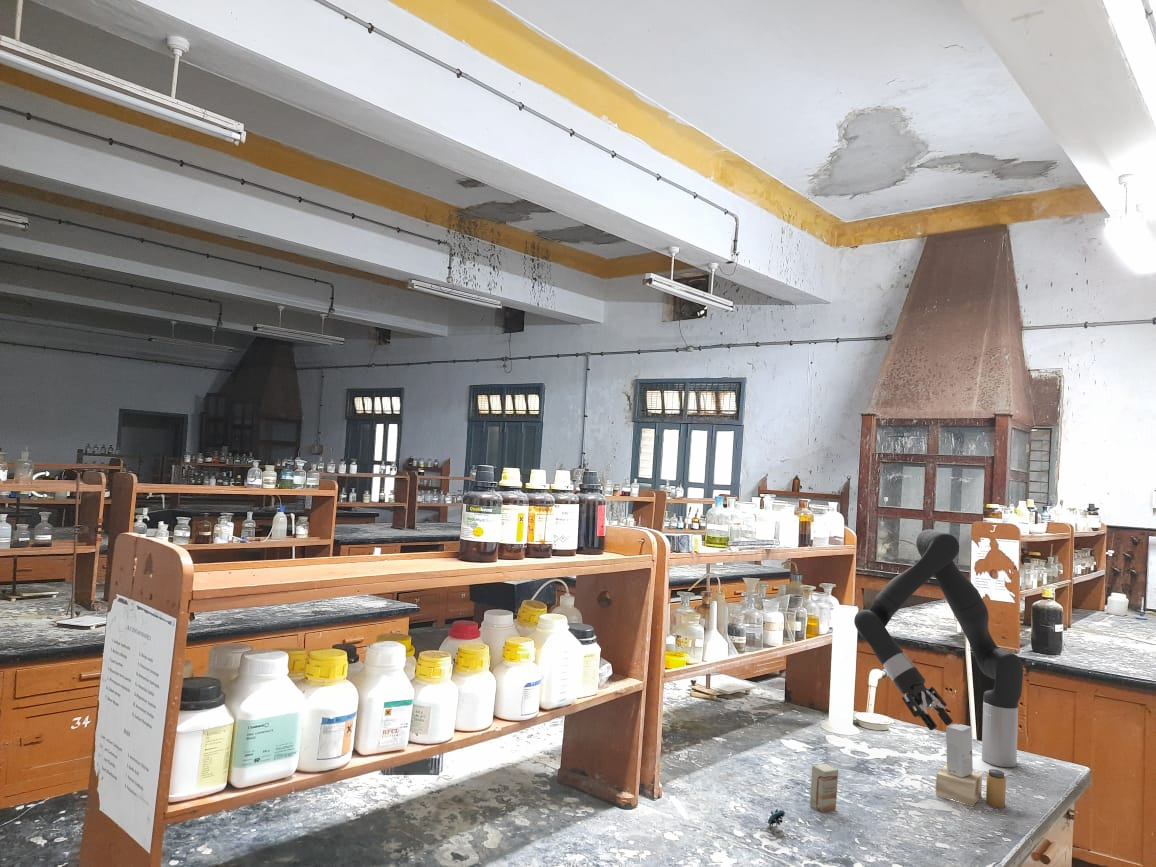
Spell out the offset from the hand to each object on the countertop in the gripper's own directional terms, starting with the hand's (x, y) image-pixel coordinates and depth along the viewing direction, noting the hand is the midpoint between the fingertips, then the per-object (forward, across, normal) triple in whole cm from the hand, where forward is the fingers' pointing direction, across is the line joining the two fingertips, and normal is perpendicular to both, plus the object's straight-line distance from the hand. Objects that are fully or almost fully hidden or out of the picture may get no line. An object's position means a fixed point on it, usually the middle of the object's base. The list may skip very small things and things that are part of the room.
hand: (942, 726), depth 208 cm
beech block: (+15, 0, +9) cm, 18 cm away
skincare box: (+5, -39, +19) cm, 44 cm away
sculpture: (+7, -60, +18) cm, 63 cm away
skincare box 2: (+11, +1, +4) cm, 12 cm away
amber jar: (+21, +4, +3) cm, 21 cm away
